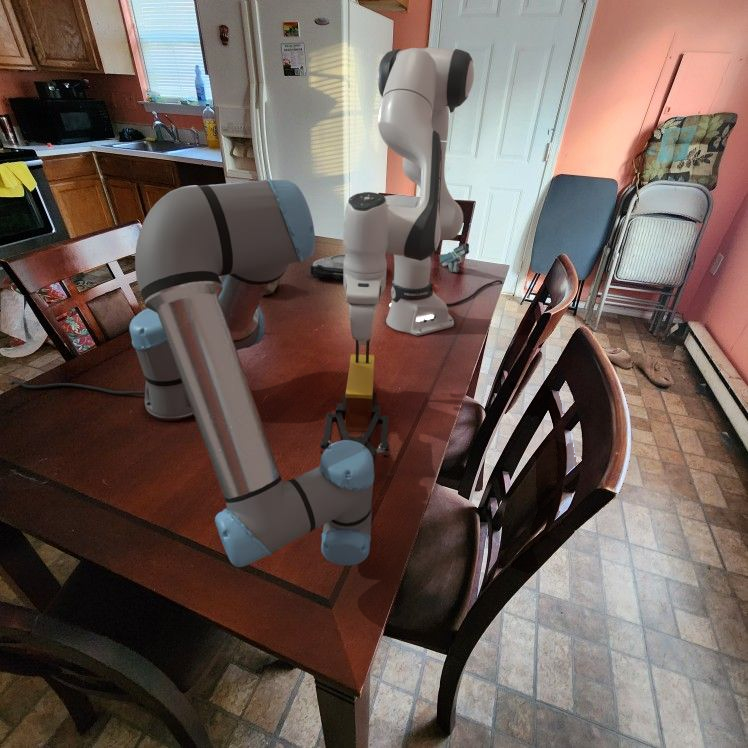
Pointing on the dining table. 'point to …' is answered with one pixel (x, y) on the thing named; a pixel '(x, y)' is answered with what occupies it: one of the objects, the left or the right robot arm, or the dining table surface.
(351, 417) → the chest
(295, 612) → the dining table surface
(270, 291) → the lumpy boulder
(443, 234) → the right robot arm
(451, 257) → the toy gun
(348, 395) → the lid
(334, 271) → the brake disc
